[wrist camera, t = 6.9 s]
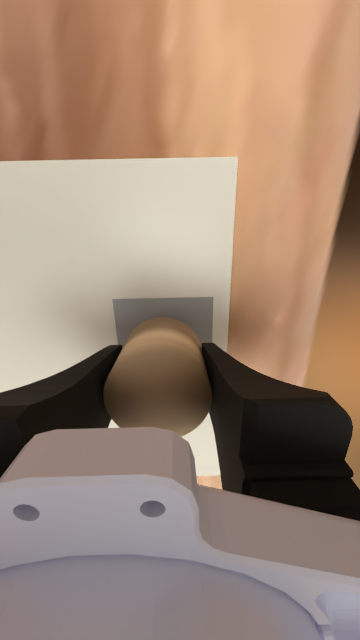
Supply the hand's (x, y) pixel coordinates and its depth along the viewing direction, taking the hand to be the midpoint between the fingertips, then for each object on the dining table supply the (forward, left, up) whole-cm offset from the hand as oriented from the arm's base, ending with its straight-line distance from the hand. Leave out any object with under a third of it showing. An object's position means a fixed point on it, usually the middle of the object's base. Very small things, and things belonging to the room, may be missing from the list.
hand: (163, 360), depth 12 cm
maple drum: (0, 0, -1) cm, 1 cm away
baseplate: (-1, -4, -3) cm, 5 cm away
